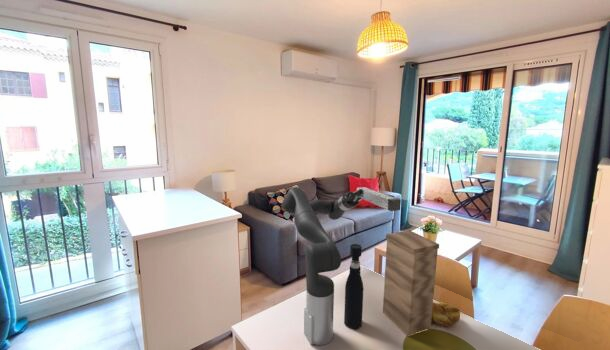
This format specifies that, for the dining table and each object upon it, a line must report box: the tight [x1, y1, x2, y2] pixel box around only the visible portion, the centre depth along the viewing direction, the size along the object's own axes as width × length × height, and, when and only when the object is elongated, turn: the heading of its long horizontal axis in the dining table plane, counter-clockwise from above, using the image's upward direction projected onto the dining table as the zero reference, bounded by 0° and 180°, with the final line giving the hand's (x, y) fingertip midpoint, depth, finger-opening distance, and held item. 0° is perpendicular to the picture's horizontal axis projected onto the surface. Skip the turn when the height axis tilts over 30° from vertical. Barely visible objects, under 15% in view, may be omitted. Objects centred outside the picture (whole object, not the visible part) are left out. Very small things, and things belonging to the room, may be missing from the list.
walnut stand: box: [382, 229, 440, 337], centre depth 103 cm, size 11×14×32 cm
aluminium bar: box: [356, 186, 402, 212], centre depth 118 cm, size 4×24×4 cm, turn 22°
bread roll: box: [431, 301, 461, 328], centre depth 105 cm, size 13×10×8 cm
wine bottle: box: [343, 243, 364, 330], centre depth 102 cm, size 6×6×30 cm
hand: (366, 190), depth 124 cm, fingers closed on aluminium bar, 4 cm apart
